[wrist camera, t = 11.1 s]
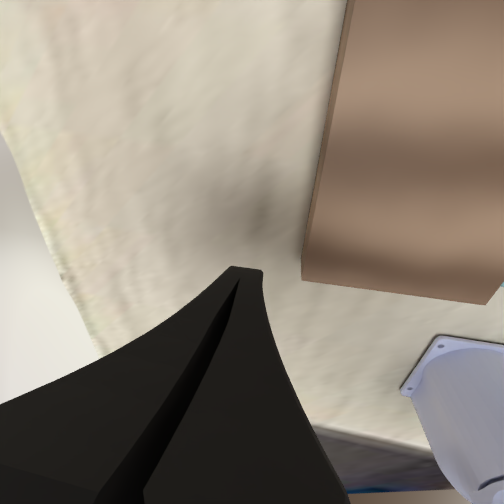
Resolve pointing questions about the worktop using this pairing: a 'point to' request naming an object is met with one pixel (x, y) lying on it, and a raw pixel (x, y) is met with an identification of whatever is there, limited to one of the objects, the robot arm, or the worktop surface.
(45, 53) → the worktop surface
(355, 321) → the worktop surface
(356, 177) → the walnut board
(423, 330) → the worktop surface
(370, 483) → the worktop surface
